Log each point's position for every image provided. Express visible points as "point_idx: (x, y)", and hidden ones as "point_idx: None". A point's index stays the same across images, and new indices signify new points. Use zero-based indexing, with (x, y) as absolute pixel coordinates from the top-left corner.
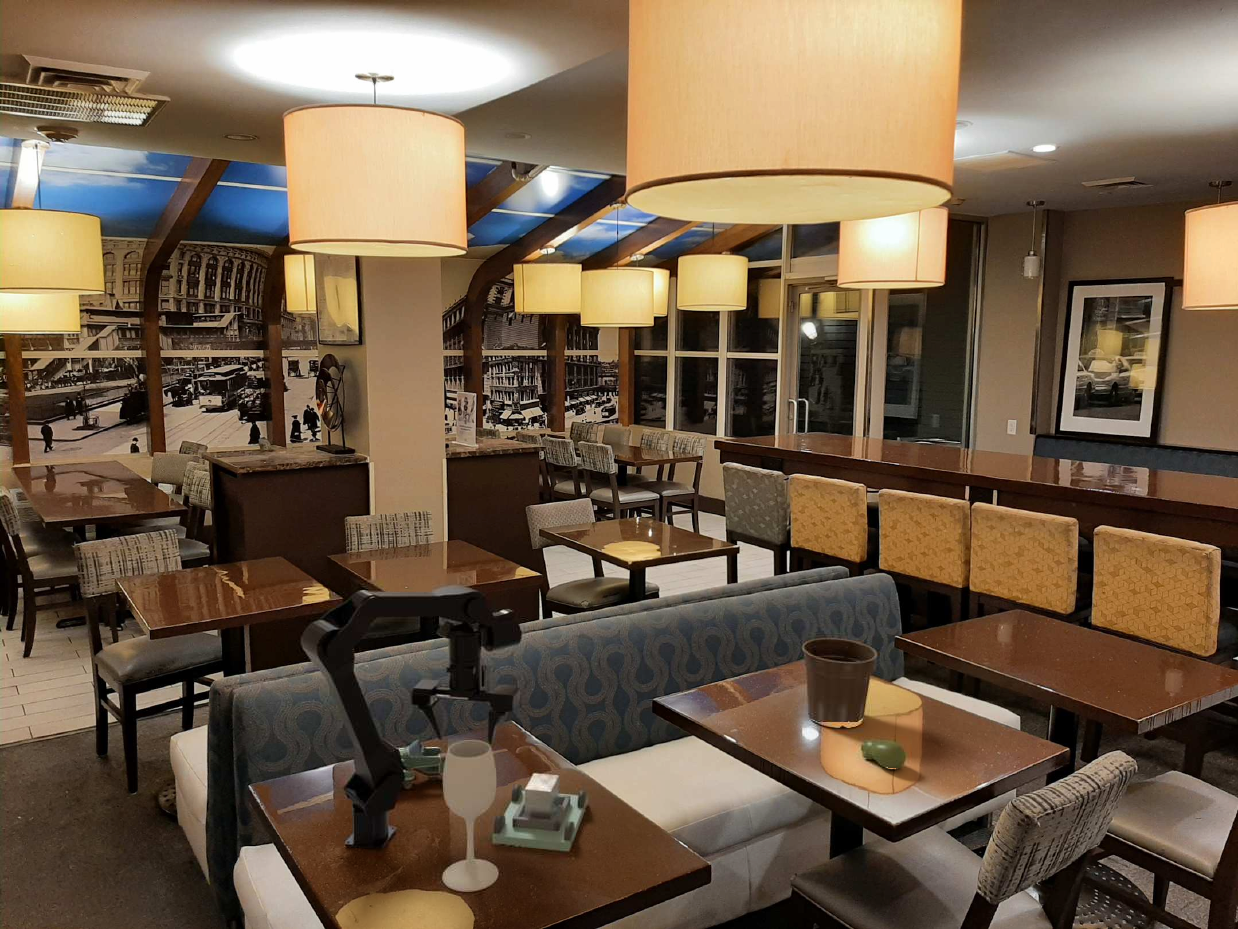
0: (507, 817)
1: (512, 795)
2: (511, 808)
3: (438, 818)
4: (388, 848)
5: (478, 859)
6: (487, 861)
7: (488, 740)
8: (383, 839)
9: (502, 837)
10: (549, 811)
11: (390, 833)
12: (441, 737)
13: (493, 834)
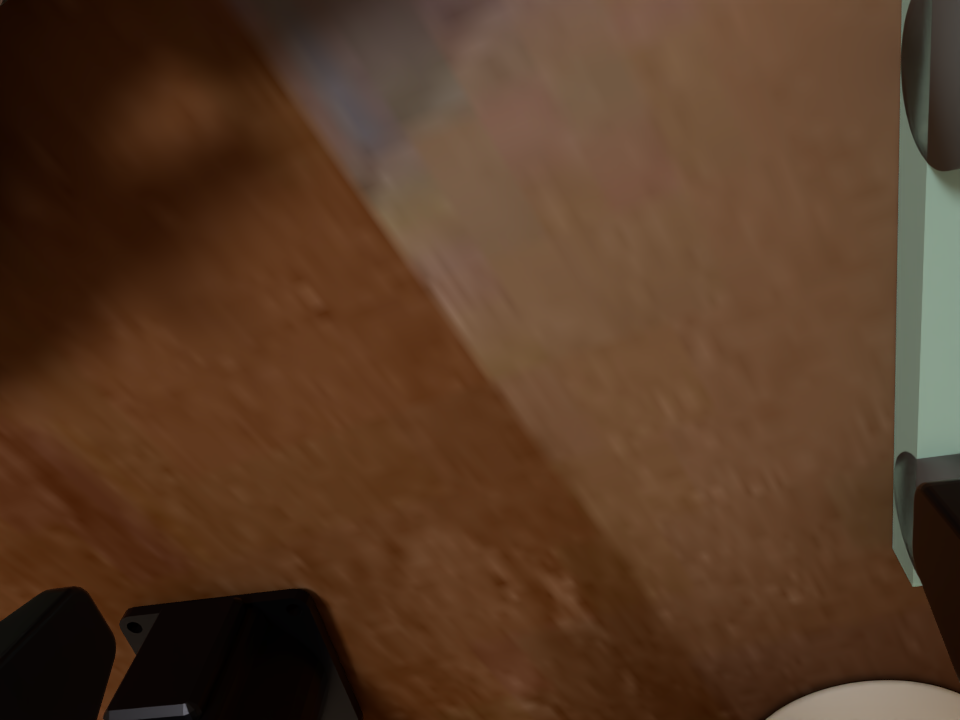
0: (957, 389)
1: (956, 168)
2: (956, 267)
3: (438, 419)
4: (381, 696)
5: (881, 715)
6: (930, 705)
7: (946, 644)
8: (327, 694)
9: None
10: None
11: (318, 647)
12: (97, 670)
13: (916, 579)
